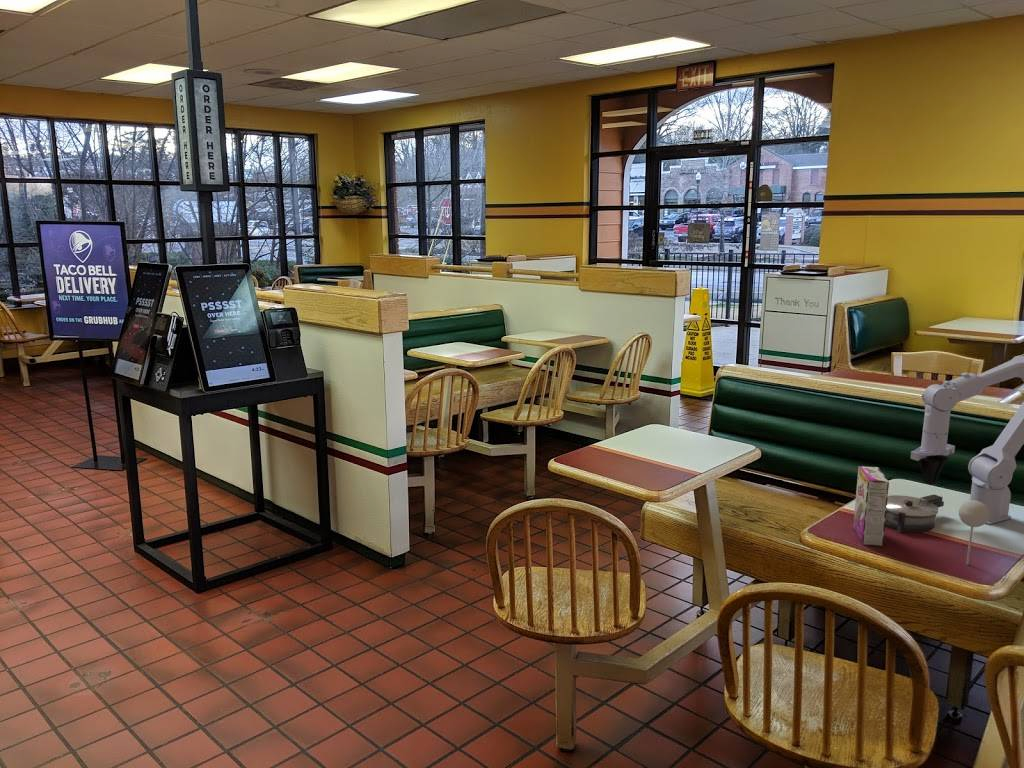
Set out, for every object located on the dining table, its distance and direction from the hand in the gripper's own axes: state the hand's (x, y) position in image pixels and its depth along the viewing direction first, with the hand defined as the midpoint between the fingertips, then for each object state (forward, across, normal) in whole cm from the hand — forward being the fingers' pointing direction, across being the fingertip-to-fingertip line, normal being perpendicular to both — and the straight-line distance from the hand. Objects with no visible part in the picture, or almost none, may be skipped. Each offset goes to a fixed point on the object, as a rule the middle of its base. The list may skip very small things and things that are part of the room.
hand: (929, 482), depth 206 cm
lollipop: (+10, -18, -23) cm, 30 cm away
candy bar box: (+10, -24, -2) cm, 26 cm away
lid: (+5, -5, 0) cm, 7 cm away
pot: (+9, -5, 0) cm, 11 cm away
